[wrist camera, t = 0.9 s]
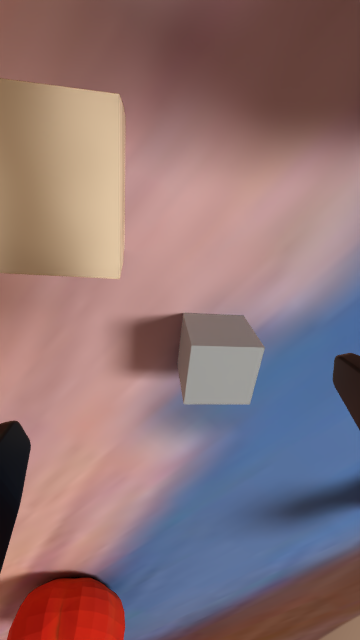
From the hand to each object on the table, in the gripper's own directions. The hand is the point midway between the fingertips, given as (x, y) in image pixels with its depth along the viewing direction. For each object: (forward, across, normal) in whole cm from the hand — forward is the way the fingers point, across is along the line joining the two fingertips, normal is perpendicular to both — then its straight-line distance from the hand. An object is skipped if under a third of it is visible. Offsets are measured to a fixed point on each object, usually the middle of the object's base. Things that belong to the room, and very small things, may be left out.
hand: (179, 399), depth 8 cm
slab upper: (+10, +4, -6) cm, 12 cm away
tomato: (+13, +19, +39) cm, 45 cm away
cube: (+13, -2, +6) cm, 15 cm away
